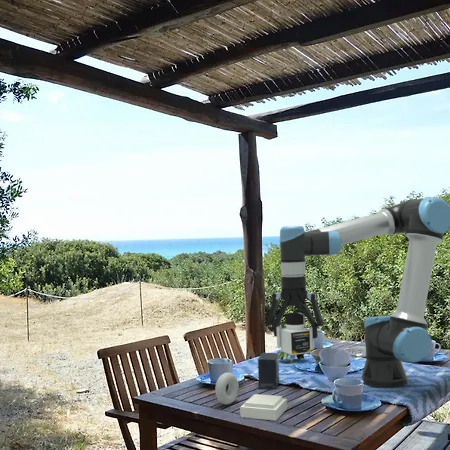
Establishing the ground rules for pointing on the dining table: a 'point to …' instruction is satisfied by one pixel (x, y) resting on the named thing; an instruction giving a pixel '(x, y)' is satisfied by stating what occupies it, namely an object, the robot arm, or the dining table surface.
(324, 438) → the dining table surface
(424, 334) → the robot arm
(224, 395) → the donut
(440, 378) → the dining table surface
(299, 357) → the passion flower
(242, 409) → the plinth
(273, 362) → the small box
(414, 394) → the dining table surface
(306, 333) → the medicine bottle
